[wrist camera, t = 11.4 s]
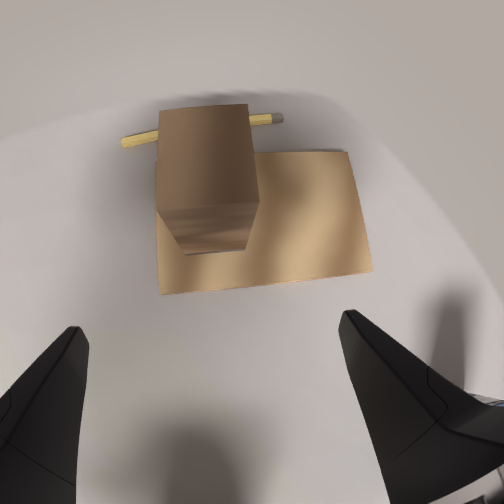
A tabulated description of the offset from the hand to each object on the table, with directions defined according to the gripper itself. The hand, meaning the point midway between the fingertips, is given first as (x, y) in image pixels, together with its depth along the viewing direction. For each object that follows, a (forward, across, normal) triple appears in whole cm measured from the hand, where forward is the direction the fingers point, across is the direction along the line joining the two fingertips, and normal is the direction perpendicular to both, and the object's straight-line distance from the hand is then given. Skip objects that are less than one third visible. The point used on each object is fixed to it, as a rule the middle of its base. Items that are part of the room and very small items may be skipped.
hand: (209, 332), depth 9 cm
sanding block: (+14, 0, +3) cm, 15 cm away
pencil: (+21, +1, -3) cm, 22 cm away
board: (+15, -4, +4) cm, 16 cm away
